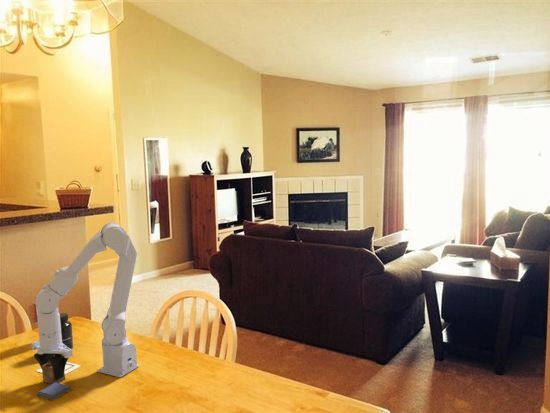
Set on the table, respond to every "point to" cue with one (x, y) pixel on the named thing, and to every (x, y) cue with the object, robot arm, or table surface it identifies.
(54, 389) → the ink pad
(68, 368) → the form sheet
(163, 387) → the table surface
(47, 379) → the stamp
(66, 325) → the supplement bottle
